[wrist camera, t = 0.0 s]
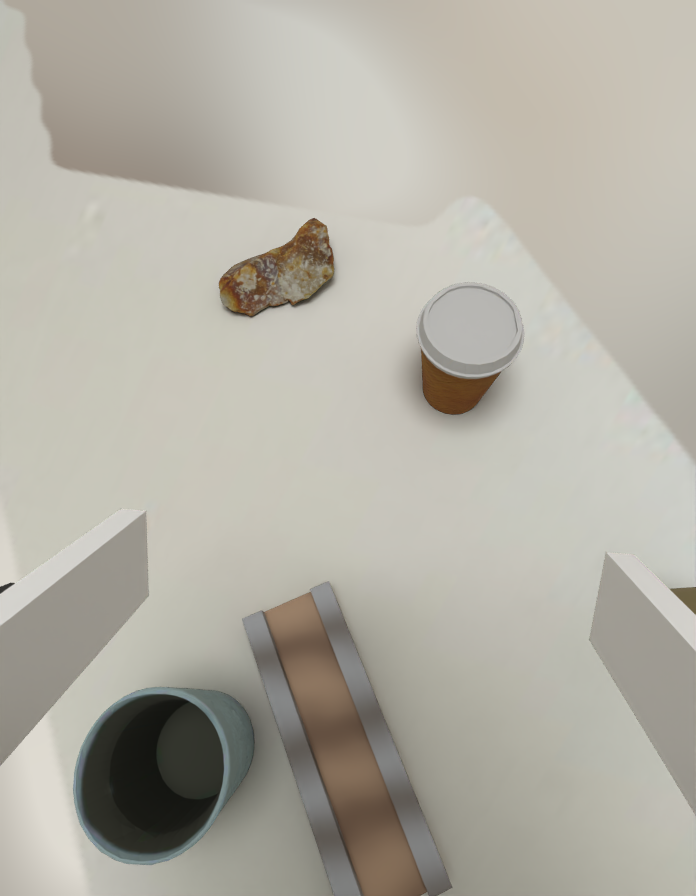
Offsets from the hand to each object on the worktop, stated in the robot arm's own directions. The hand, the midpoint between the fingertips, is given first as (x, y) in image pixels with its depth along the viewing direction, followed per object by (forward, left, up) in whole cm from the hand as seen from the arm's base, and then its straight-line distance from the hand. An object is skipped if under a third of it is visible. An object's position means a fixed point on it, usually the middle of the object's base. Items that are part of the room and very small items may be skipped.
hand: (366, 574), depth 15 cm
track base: (-6, +5, -36) cm, 37 cm away
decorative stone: (+41, -7, -36) cm, 55 cm away
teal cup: (-3, +16, -36) cm, 40 cm away
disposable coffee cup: (+20, -19, -36) cm, 45 cm away
